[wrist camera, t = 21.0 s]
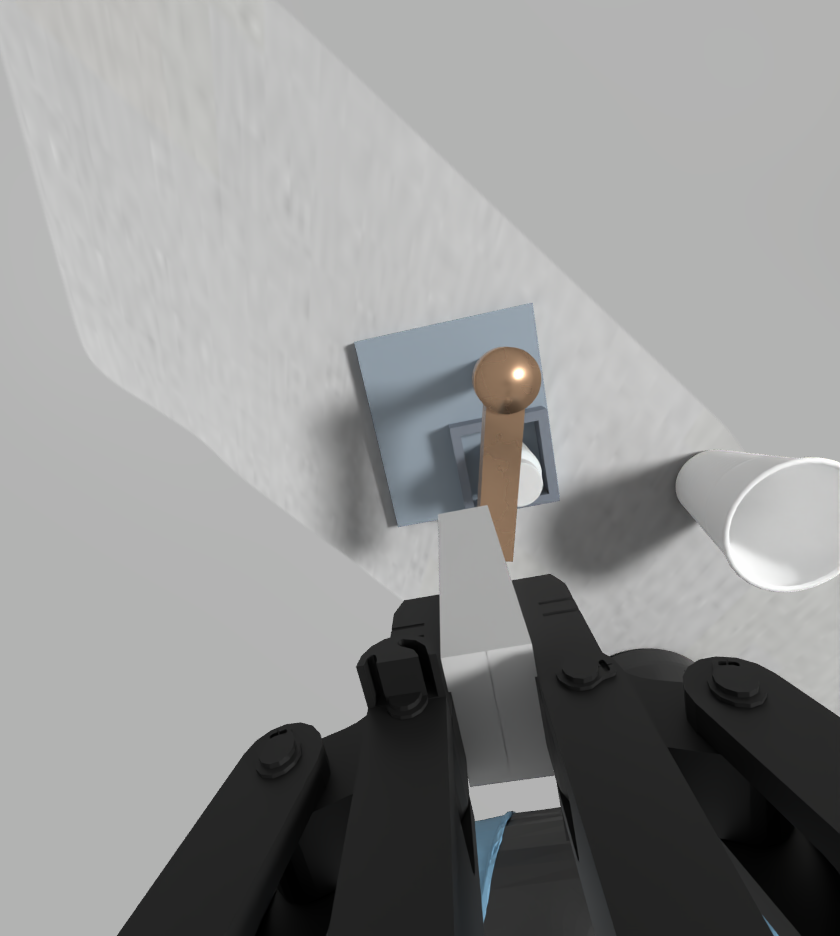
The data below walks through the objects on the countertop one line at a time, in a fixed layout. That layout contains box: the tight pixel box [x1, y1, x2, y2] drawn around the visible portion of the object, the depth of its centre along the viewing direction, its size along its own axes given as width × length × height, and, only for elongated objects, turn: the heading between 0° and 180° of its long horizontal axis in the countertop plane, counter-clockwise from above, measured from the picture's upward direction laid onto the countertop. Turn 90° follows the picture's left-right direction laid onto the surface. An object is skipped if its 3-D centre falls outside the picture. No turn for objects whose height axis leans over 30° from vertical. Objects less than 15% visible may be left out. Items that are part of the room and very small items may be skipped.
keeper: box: [472, 347, 541, 562], centre depth 31 cm, size 14×4×2 cm, turn 179°
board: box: [354, 303, 560, 527], centre depth 37 cm, size 17×15×10 cm
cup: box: [676, 449, 840, 592], centre depth 37 cm, size 10×10×11 cm
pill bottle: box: [517, 442, 543, 507], centre depth 38 cm, size 4×4×8 cm
